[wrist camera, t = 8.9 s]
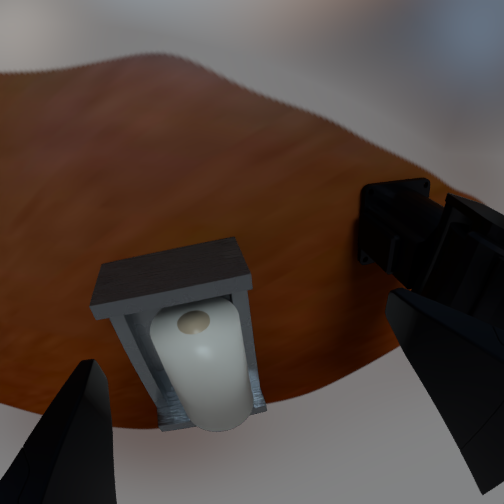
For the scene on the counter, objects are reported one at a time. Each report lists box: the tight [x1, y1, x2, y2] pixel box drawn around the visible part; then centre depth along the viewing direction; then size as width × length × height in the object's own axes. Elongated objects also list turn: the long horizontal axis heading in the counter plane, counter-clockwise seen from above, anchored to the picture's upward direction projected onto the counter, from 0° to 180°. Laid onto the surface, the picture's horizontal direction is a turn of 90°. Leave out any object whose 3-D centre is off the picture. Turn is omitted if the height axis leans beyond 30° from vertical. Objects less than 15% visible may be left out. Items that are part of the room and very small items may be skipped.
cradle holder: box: [89, 237, 267, 432], centre depth 21 cm, size 9×14×4 cm, turn 6°
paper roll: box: [150, 296, 253, 432], centre depth 21 cm, size 9×6×6 cm, turn 6°
